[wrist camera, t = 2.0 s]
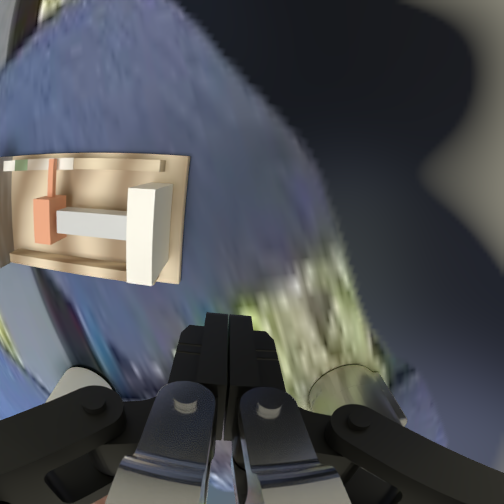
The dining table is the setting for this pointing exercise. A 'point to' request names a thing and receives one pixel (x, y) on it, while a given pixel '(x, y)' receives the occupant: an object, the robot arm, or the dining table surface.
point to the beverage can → (76, 382)
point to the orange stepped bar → (48, 210)
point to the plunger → (130, 228)
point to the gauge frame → (86, 196)
